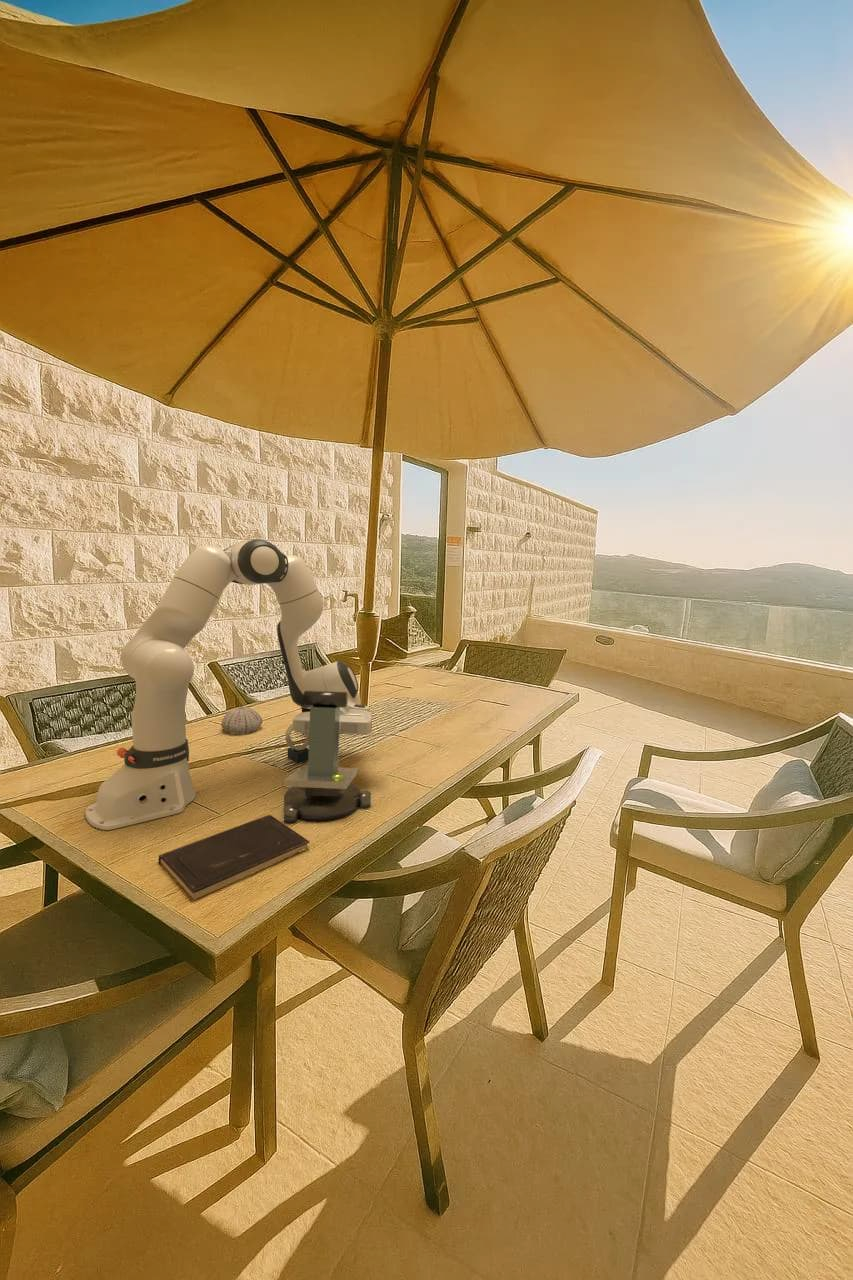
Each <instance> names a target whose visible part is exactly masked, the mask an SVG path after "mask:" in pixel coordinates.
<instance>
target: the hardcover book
mask: <svg viewBox="0 0 853 1280" xmlns="http://www.w3.org/2000/svg"><path fill="white" fill-rule="evenodd" d="M309 843H310V840H308V839H307V838H305V837H304V836H303V835H301V834H299V833H298V832H297V831H295V830H293V829H292V828H290V827H289V826H287V824H286V823H284V822H282V821H280V820H279V819H277V817H274V816H273V815H271V814H270V813H269V814H267V815H265V816H262V817H259V818H256V819H254V820H251V821H248V822H245V823H243V824H240V825H237V826H235V827H231V828H229V829H226V830H223V831H220V832H218V833H216V834H213V835H209V836H207V837H205V838H202V839H199V840H197V841H194V842H190V843H188V844H185V845H183V846H181V847H177V848H173V849H172V850H169V851H167V852H164V853H161V854H158V863H159V864H161V865H163V866H164V868H165V869H166V870H167V871H168V872H169V873H170V874H171V875H172V876H173V878H174V879H175V880H176V881H177V882H178V883H179V884H180V885H181V887H182V888H183V889H184V890H185V891H186V892H187V893H188V894H189V895H190V897H191V898H192V899H193V900H196V899H199V898H201V897H203V896H205V895H208V894H210V893H212V892H214V891H217V890H218V889H221V888H223V887H226V886H228V885H230V884H232V883H234V881H235V882H237V881H238V880H241V879H243V878H246V877H247V876H246V875H248V876H250V875H252V874H254V873H253V872H255V873H257V872H258V871H257V870H259V871H260V869H261V870H263V869H265V868H264V867H266V866H268V867H270V866H271V865H270V864H272V865H274V864H273V863H275V862H277V863H279V862H280V861H279V860H281V861H283V860H282V859H284V858H286V859H288V858H290V857H292V856H294V855H293V854H295V853H297V852H299V851H301V852H303V851H302V850H303V849H306V850H308V849H307V848H308V847H309V845H308V844H309ZM299 853H300V852H299ZM297 854H298V853H297ZM291 855H292V856H291ZM295 855H296V854H295ZM289 856H290V857H289ZM287 857H288V858H287ZM284 860H285V859H284ZM278 861H279V862H278ZM275 864H276V863H275ZM269 865H270V866H269ZM262 868H263V869H262ZM266 868H267V867H266ZM256 871H257V872H256ZM251 873H252V874H251ZM249 874H250V875H249ZM245 876H246V877H245ZM242 877H243V878H242ZM240 878H241V879H240Z"/></svg>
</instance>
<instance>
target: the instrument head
mask: <svg viewBox="0 0 853 1280" xmlns="http://www.w3.org/2000/svg"><path fill="white" fill-rule="evenodd" d="M347 703H348V693H347V692H328V691H305V692H304V694H303V704H304V706H312V707H310V726H309V741H308V742H309V745H308V749H309V753H308V761H307V765H301V766H300V767H299V768H298V769H296V770H295V771H294V772H292V773H291V774H290V775H289V776H287V777H286V778H285V779H284V784H283V785H284V787H289V788H291V787H309V788H332V789H346V788H347V787H348V786H349V784H350V783H351V782H352V783H353V780H354V779H355V778H356V776H357V774H358V768H357V767H343V766H340V767H339V745H340V741H339V740H340V739H339V738H340V734H339V720H340V707H347Z"/></svg>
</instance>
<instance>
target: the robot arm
mask: <svg viewBox="0 0 853 1280" xmlns="http://www.w3.org/2000/svg"><path fill="white" fill-rule="evenodd" d="M230 583H234V584H238V585H248V586H249V585H251V586H255V585H261V584H264V585H268V586H269V587H270V588H271V590H272V592H273V593H274V595H275V597H276V599H277V602H278V604H279V608H280V611H281V613H280V615H281V617H280V621H278V623H277V625H276V633H277V639H278V644H279V648H280V653H281V657H282V660H283V665H284V669H285V673H286V677H287V682H288V689H289V693H290V694H289V695H290V697H291V700H292V702H293V703H294V704H296V705H297V706H299V707H300V708H301V707H304V708H308V707H311V706H304V704H303V694H304V692H305V691H328V692H347V693H348V703H347V707H340V720H339V735H360V736H361V735H363V736H364V735H365V736H368V735H370V734H372V724H373V723H372V722H373V721H372V720H373V719H372V718H373V716H372V713H371V709H370V706H368V705H362V700H361V697H360V694H359V693H358V691H359V683H358V680H357V677H356V673H355V672H354V670H353V669H352V667H351V666H349V665H348V664H347V663H345V662H344V661H341V660H338V661H334V662H330V663H328V664H324V665H323V666H320V667H317V668H316V667H315V668H313V669H310V670H304V668H303V664H302V661H301V657H300V653H299V649H298V640H299V639H300V637H301V636H302V635H303V634H304V633H306V632H307V631H308V630H310V628H312V627H313V626H314V625H315V624H316V623H317V622H318V621H319V619H320V618H321V616H322V613H323V609H324V604H323V603H324V602H323V600H322V595H321V594H320V591H319V589H318V586H317V583H316V581H315V579H314V577H313V576H312V574H311V571H310V570H309V568H308V567H307V565H306V564H305V562H304V561H303V559H302V558H301V557H299V556H298V555H294V554H287V555H285V554H284V553H283V552H282V551H281V550H280V549H279V548H278V547H277V546H276V545H275V544H273V543H271V542H270V541H268V540H265V539H260V538H258V539H256V538H255V539H251V540H243V541H240V542H238V543H236V544H233V545H230V546H228V547H226V548H225V549H224V550H222V549H221V548H218V547H216V546H214V545H208V544H207V545H206V544H204V545H202V544H201V545H199V546H196V548H194V549H193V551H191V552H190V554H189V555H188V556H187V557H186V559H185V560H184V561H183V563H182V564H181V565H180V567H179V569H177V572H176V573H175V575H174V576H173V578H172V580H171V582H170V583H169V585H168V587H167V588H166V590H165V592H164V594H163V595H162V597H161V599H160V601H159V603H158V605H157V606H156V608H155V609H154V610H153V611H152V613H151V614H150V615H149V617H148V618H147V619H146V620H145V621H144V622H143V623H142V625H141V626H140V627H139V629H138V630H137V632H136V633H135V634H134V636H133V637H132V638H131V639H130V640H129V641H128V642H127V643H125V645H123V648H122V650H121V653H120V659H121V660H120V661H121V664H122V665H121V666H122V667H123V669H124V671H125V673H126V674H127V675H128V676H129V677H131V678H132V679H134V681H135V682H134V683H135V689H136V690H135V698H134V705H133V708H132V711H131V716H130V717H131V731H132V746H131V747H130V748H129V749H127V748H125V747H119V748H118V749H117V751H116V755H117V756H118V757H119V758H121V759H123V760H124V762H123V763H124V764H123V765H122V766H121V767H119V768H118V769H117V770H116V771H115V772H114V773H113V774H111V775H110V776H109V777H108V778H106V779H105V780H104V781H103V782H102V783H101V784H100V786H99V788H98V791H97V796H96V802H94V803H92V804H90V805H88V806H87V808H86V810H85V815H86V816H85V820H86V819H87V820H86V821H87V822H88V823H89V824H90V825H91V826H92V827H94V828H95V827H96V828H95V829H98V828H99V829H98V830H103V831H111V830H115V829H120V828H123V827H127V826H131V825H132V826H133V825H136V824H140V823H144V822H149V821H152V820H157V819H160V818H164V817H169V816H172V815H177V814H180V813H183V811H184V810H185V809H186V806H187V805H188V804H190V803H191V802H192V801H193V800H194V799H195V798H196V795H197V793H196V790H195V789H194V785H193V782H192V779H191V774H190V769H189V762H190V760H189V759H190V757H189V756H190V749H189V748H190V747H189V741H188V739H187V733H186V731H187V730H186V729H187V728H186V705H187V704H186V703H187V697H188V692H189V691H188V690H189V685H190V682H191V680H192V678H193V676H194V672H195V665H194V664H195V663H194V661H193V660H192V657H191V656H190V654H189V653H188V652H187V651H186V650H185V648H186V647H187V646H188V645H189V643H190V642H191V641H192V640H193V639H194V637H196V635H198V634H199V633H200V632H202V630H204V628H205V627H206V625H207V623H208V621H209V620H210V618H211V616H212V614H213V612H214V610H215V608H216V606H217V604H218V603H219V601H220V599H221V597H222V595H223V593H224V590H225V589H226V588H227V586H228V585H229V584H230ZM292 724H293V730H292V731H294V732H295V733H302V732H306V733H309V726H310V712H303V713H302V712H301V713H299V714H297V715H295V716H294V717H292Z"/></svg>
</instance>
